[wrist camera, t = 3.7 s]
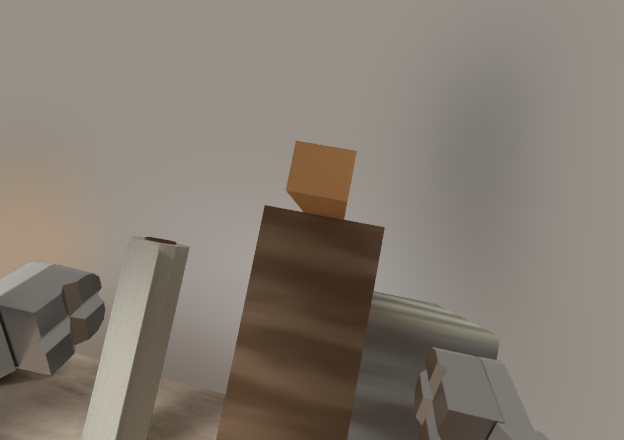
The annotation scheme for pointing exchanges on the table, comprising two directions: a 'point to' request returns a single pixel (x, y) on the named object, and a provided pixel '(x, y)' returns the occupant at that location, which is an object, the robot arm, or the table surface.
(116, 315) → the paper towel roll
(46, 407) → the table surface
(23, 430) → the table surface
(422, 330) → the stepped stand
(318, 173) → the batten
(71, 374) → the table surface
